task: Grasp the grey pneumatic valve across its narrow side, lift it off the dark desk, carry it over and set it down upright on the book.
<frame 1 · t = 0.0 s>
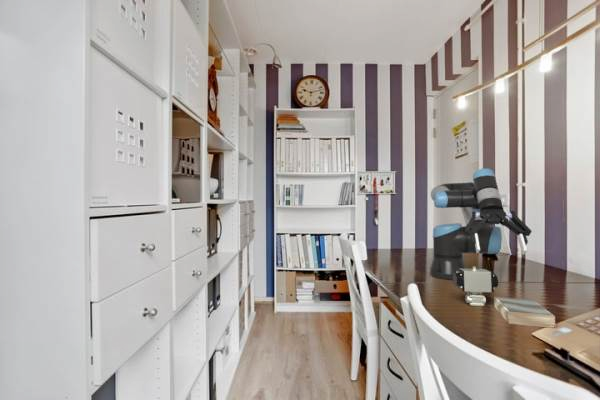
hand: (501, 252, 101), 15 cm above the table, tool tilted 35°, fingers open, 13 cm apart
book: (521, 316, 83), on the table
pneumatic valve: (475, 304, 94), on the table
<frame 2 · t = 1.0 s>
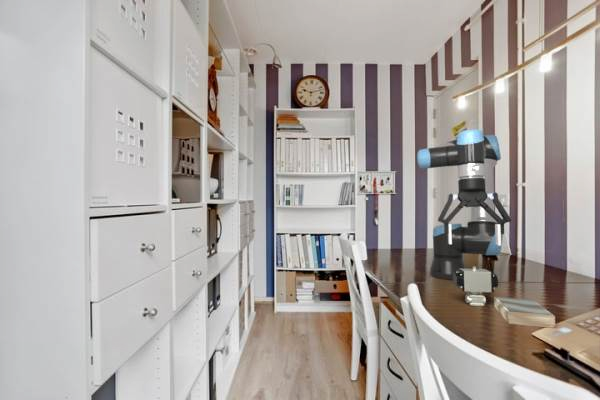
hand: (473, 244, 94), 19 cm above the table, tool pointing down, fingers open, 13 cm apart
nothing on the table moved.
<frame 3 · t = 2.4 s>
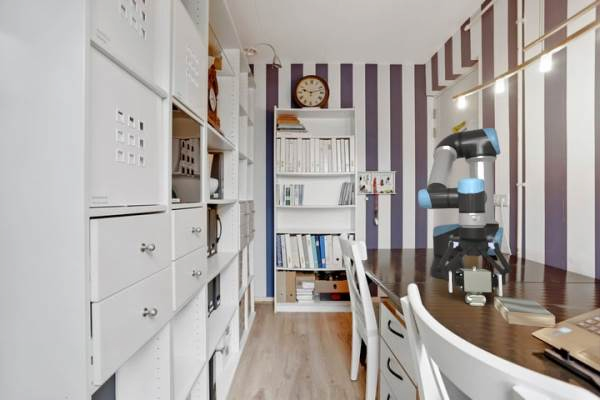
hand: (474, 293, 94), 3 cm above the table, tool pointing down, fingers open, 13 cm apart
nothing on the table moved.
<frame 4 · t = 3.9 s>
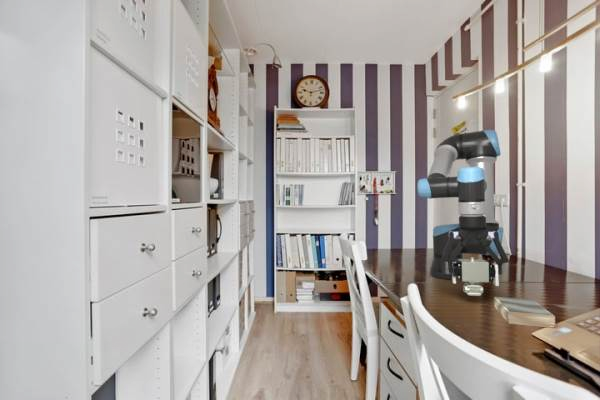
hand: (474, 283, 95), 6 cm above the table, tool pointing down, fingers closed on pneumatic valve, 11 cm apart
pneumatic valve: (472, 294, 95), point 3 cm above the table, touching gripper
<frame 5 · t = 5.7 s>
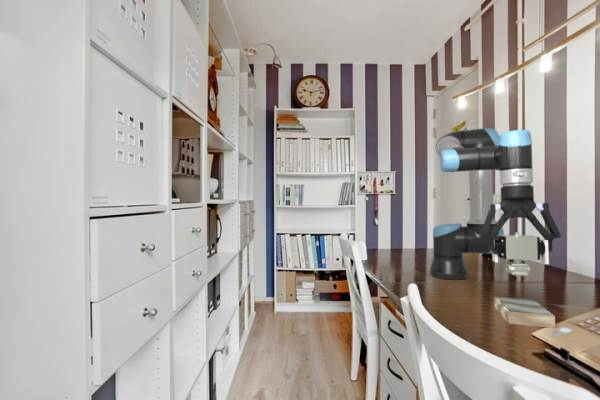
hand: (519, 262, 83), 15 cm above the table, tool pointing down, fingers closed on pneumatic valve, 11 cm apart
pneumatic valve: (516, 275, 84), point 11 cm above the table, touching gripper
when the fingers open (7 cm above the table, at t = 7.7 s): pneumatic valve stays where it is, resting on book.
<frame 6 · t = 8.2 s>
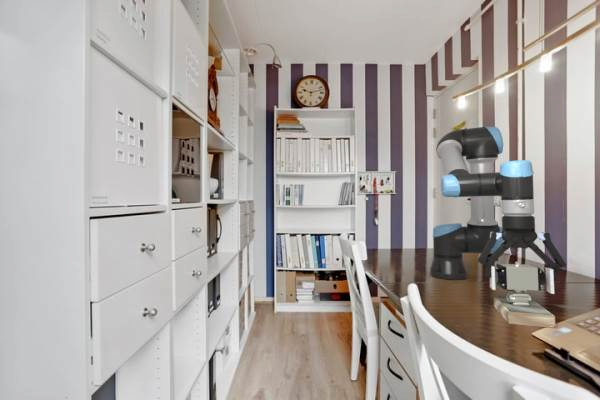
hand: (520, 290, 83), 7 cm above the table, tool pointing down, fingers open, 13 cm apart
pneumatic valve: (518, 304, 83), point 3 cm above the table, touching book
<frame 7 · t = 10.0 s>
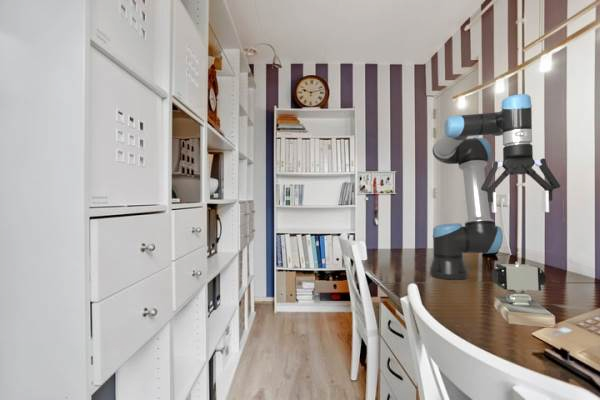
hand: (519, 212, 93), 29 cm above the table, tool pointing down, fingers open, 13 cm apart
nothing on the table moved.
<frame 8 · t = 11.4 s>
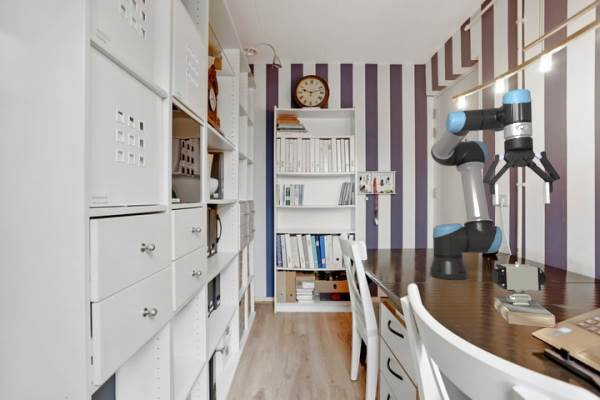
hand: (520, 203, 95), 32 cm above the table, tool pointing down, fingers open, 13 cm apart
nothing on the table moved.
at the end: pneumatic valve 0.7 cm from the book (horizontally); pneumatic valve touching book; pneumatic valve tilted 0° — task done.
